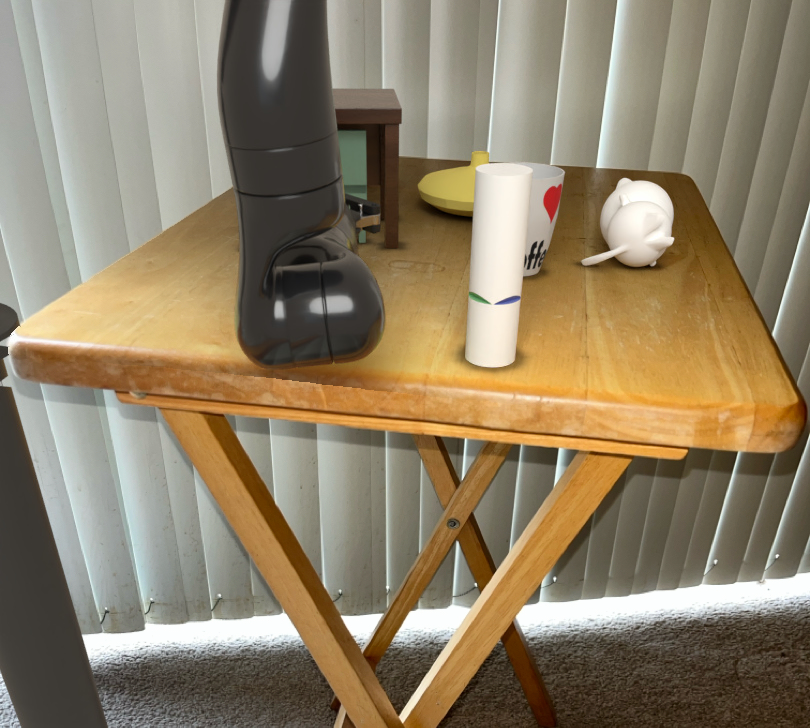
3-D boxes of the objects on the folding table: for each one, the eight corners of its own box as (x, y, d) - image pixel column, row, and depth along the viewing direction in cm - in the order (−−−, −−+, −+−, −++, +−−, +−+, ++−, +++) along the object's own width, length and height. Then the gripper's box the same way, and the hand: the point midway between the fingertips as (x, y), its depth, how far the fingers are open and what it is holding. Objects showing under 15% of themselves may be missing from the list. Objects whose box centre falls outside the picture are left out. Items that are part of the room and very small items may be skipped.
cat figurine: (662, 183, 83) (652, 154, 93) (563, 236, 88) (564, 203, 97) (694, 260, 87) (682, 225, 97) (599, 307, 92) (596, 269, 101)
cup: (496, 284, 87) (503, 181, 81) (467, 260, 93) (472, 164, 87) (566, 277, 89) (579, 176, 83) (533, 254, 95) (543, 159, 89)
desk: (400, 248, 96) (401, 108, 88) (242, 250, 95) (228, 107, 87) (393, 215, 108) (394, 88, 99) (252, 216, 107) (240, 88, 98)
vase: (561, 219, 107) (568, 160, 103) (452, 233, 102) (455, 171, 97) (498, 191, 119) (502, 137, 115) (397, 202, 113) (397, 145, 109)
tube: (467, 345, 74) (478, 161, 65) (516, 349, 73) (534, 164, 64) (462, 365, 70) (472, 174, 62) (513, 369, 70) (531, 177, 61)
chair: (367, 243, 98) (366, 130, 91) (281, 244, 97) (273, 130, 90) (365, 219, 106) (363, 114, 99) (285, 220, 105) (278, 114, 98)
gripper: (390, 199, 71) (380, 155, 85) (232, 199, 70) (248, 155, 84) (389, 287, 75) (380, 231, 89) (240, 288, 74) (255, 232, 88)
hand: (316, 194), depth 86 cm, fingers closed
